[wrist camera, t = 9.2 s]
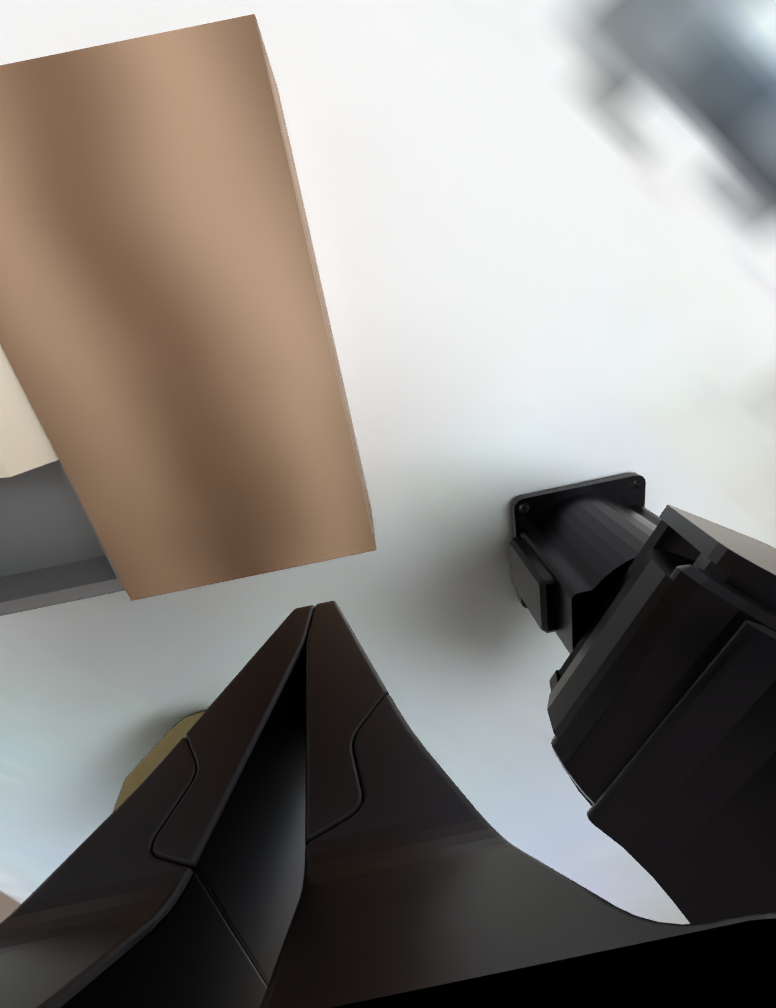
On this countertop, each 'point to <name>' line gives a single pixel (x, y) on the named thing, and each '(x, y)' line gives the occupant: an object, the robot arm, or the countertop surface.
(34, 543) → the charcoal bin
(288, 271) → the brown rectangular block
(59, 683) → the countertop surface
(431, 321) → the countertop surface
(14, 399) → the cream block
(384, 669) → the countertop surface
